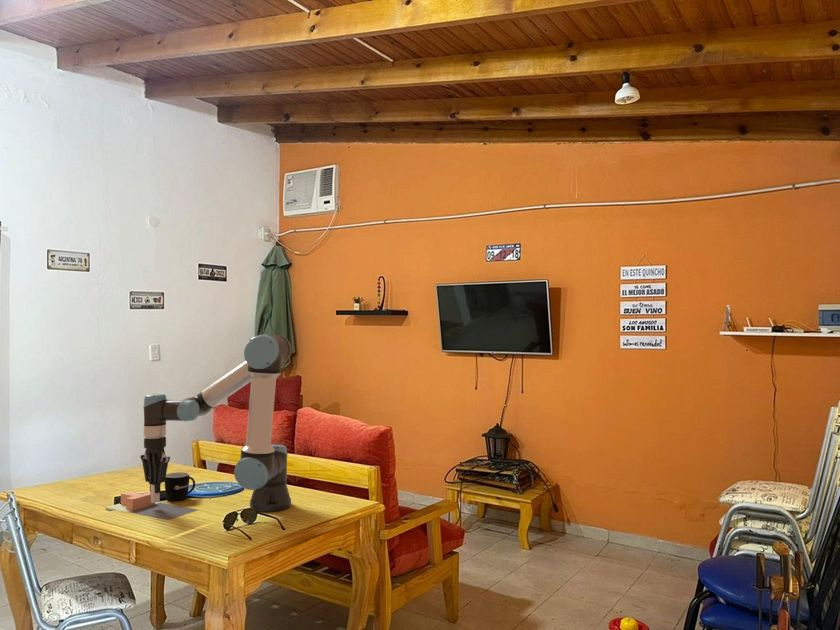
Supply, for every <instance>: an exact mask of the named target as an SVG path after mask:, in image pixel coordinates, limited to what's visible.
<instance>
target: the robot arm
mask: <svg viewBox="0 0 840 630" xmlns="http://www.w3.org/2000/svg"><path fill="white" fill-rule="evenodd" d="M291 355H292V345H291V343H290V341H289V340H288V339H287V338H286V337H285V336H283V335H281V334H276V333H274V334H266V333H265V334H263V333H262V334H259V335H256V336H254V337H252V338H251V339H249V340H248V341H247V343H246V344H245V346H244V350H243V357H244V360H245V361H244V362H242V363H240V364H239V365H238V366H235V368H234V369H232V370H231V371H229V372H227V373H226V374H224V375H223V376H222V377H220V378H219V379H217V380H216V381H214V382H213V383H212V384H210V385H208V386H207V387H206V388H205V389H203V390H202V391H200V392H199V393H197V394H196V395H194V396H191V397H188V398H182V399H167V395H166V394H165V393H152V394H151V393H150V394H146V395H145V396H144V398H143V399H144V400H143V407H142V408H143V422H144V423H143V437H144V438H143V449H145V451H144V454H141V455H139V456H140V457H139V458H140V460H141V462H142V469H143V474H144V480H145V482H146V483H147V482H148V484H149V492H151V503H155V502H159V503H160V498H161V497H160V493H161V484H162V483H163V484H164V483H165V478H166V474H167V471H168V466H169V462H170V459H171V457H170V456H167V455H166V452H165V448H166V446H167V437H166V435H167V422H168V421H169V422H170V421H171V422H172V421H175V422H177V421H179V422H192V421H195V420H196V419H197V418H198V417H201V416H205V415H206V414H208V413H210V412H211V411H212V409H213V408H214V407H216V406H217V405H218V404H220V403H221V402H223V401H225V400H226V399H227V398H229V397H230V396H232V395H233V394H235V393H237V392H238V391H239V390H241V389H242V388H243V387H245V386H246V385H248V384H249V383H250V392H249V403H248V416H247V425H246V426H247V427H246V436H245V438H246V440H245V445H243V446H242V447H241V449H240V457H239V458H240V459H239V461H237V463H236V465H235V466H234V469H233V470H234V475H233V476H234V478H235V480H236V482H237V483H238V485H240V487H241V488H243V489H244V490H250V491H252V494H251V497H250V500H249V508H254V509H256V510H257V511H256V512H261V513H262V512H263V513H270V512H280V511H285V510H288V509H289V508H291V507H292V498H291V497H290V492H289V489H288V486H287V485H288V483H287V481H288V478H287V477H288V448H287V446H286V445H282V444H272V433H273V423H274V422H273V421H274V411H275V409H274V407H275V400H276V399H275V398H276V397H275V395H276V388H277V387H276V385H277V383H276V382H277V378H278V377H279V376H281V374H282V366H283V365H284V364H285V363H286V362H287V361H288V360H289V359H290V357H291Z"/></svg>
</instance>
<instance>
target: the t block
mask: <svg viewBox="0 0 840 630" xmlns="http://www.w3.org/2000/svg"><path fill="white" fill-rule="evenodd" d="M120 503H121V505H126V509H127V510H132V511H133V510H136V509H140V508H143V507H146V506H150V505H153V504H155V503H151V492H150V491H147V492H144V493H139V492H134V491H133V492H132V491H127V492H121V493H120Z"/></svg>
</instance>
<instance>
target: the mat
mask: <svg viewBox="0 0 840 630" xmlns="http://www.w3.org/2000/svg"><path fill="white" fill-rule="evenodd" d="M105 510H106V511H110V512H113V511H121V512H125V513H130V514H135V515H140V516H145V517H148V518H149V517H150V518H154V519H161V520H165V521H170V520H172V519H176V518H178V517H182V516H184V515H189V514H190V513H193V512H197V511H198V508H197V509H196V508H190V507H185V506H182V505H181V506H180V505H175V504H170V503H165V502H160V501H159V502H155V504H153V505H150V506H146V507H143V508H140V509H136V510H133V511H132V510H127V509H126V505H121V504H120V503H117V504H113V505H109V506H106V507H105Z"/></svg>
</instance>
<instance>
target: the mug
mask: <svg viewBox="0 0 840 630" xmlns="http://www.w3.org/2000/svg"><path fill="white" fill-rule="evenodd" d="M190 480H191V482H192V487H191V489H190V490H189V486H190ZM195 488H196V481H195V479H194V478H193V477H191V476H190V473H189V472H184V471H178V472H176V471H175V472H170V473H166V478H165V482H164V491H165V498H166V501H167V502H171V503H172V502H175V503H176V502H182V501H186V500H187V498H188V495H190V493H192V492H193V491H194V489H195Z"/></svg>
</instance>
